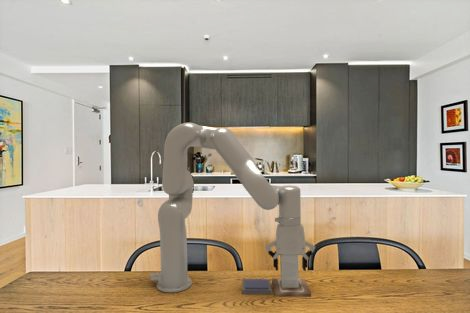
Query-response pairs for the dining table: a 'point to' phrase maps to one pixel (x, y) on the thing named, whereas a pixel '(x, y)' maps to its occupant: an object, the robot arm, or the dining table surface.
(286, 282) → the skincare box
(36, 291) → the dining table surface
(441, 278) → the dining table surface
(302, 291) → the marked board
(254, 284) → the ink pad
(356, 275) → the dining table surface
